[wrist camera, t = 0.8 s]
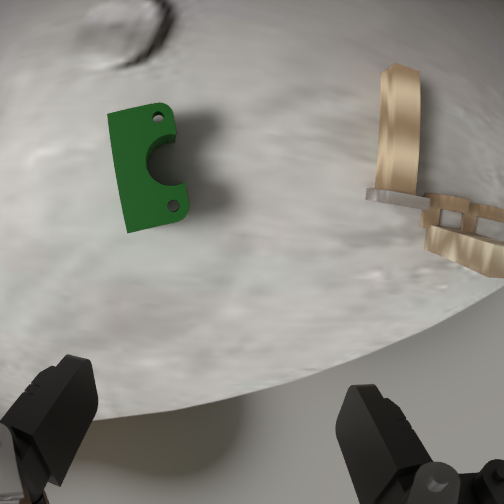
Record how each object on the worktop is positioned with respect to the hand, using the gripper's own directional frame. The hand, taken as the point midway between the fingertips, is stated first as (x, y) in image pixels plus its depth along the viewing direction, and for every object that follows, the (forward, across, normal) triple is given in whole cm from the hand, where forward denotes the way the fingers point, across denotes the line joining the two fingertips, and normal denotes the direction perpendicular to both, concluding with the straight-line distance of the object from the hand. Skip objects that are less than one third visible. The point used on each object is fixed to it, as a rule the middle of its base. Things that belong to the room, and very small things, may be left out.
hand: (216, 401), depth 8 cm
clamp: (+25, +9, -6) cm, 27 cm away
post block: (+25, -26, -5) cm, 36 cm away
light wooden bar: (+25, -16, -14) cm, 33 cm away
